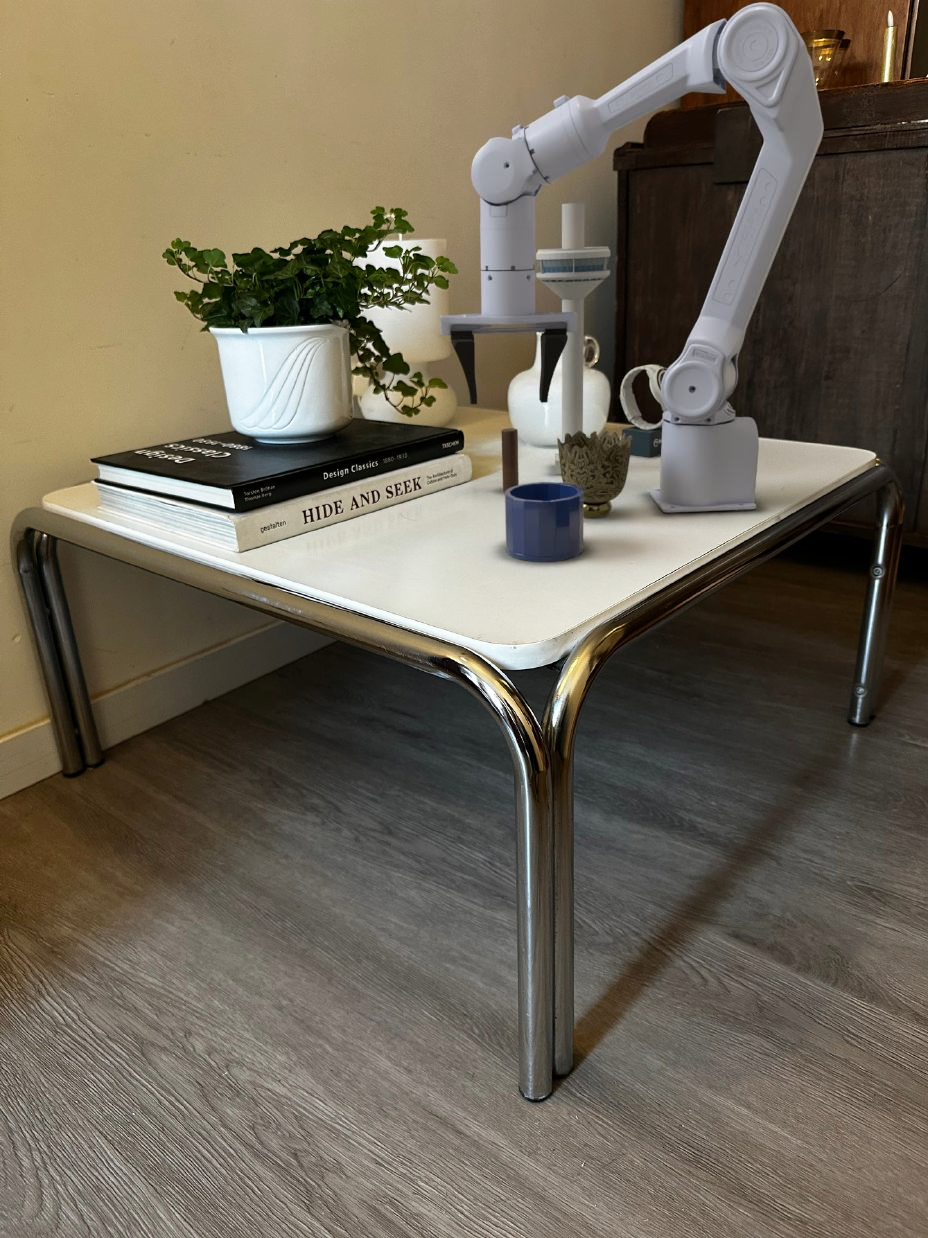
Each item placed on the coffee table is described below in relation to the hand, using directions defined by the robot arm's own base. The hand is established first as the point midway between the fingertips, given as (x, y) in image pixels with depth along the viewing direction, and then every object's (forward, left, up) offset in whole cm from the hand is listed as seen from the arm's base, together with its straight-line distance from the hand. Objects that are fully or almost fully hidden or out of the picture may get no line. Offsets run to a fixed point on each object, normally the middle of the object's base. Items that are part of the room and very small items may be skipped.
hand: (508, 401), depth 102 cm
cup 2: (-8, +11, -10) cm, 17 cm away
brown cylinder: (0, 0, -10) cm, 10 cm away
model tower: (-8, -9, -10) cm, 16 cm away
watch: (-19, -18, -10) cm, 28 cm away
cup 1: (-2, +22, -10) cm, 24 cm away
